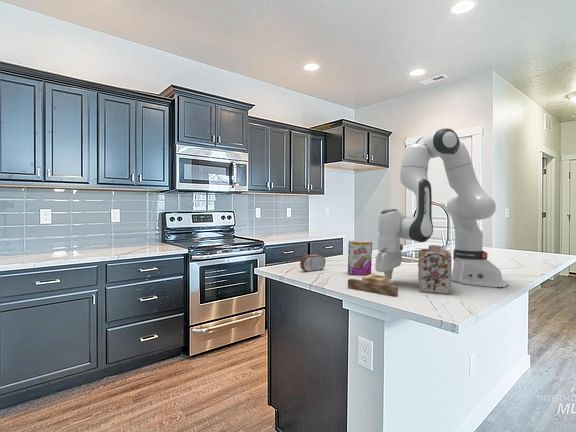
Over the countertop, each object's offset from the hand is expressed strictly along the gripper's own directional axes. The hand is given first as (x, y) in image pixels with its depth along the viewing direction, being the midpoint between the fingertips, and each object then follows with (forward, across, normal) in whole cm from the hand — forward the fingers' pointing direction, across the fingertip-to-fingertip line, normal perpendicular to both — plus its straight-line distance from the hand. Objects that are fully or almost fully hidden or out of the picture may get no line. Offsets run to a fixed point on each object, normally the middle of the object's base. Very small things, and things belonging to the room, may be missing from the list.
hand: (388, 279), depth 145 cm
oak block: (+2, -10, +1) cm, 11 cm away
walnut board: (+2, -16, +1) cm, 16 cm away
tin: (+2, +4, +41) cm, 42 cm away
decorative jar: (+3, +3, -18) cm, 18 cm away
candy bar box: (+2, +12, +19) cm, 23 cm away
